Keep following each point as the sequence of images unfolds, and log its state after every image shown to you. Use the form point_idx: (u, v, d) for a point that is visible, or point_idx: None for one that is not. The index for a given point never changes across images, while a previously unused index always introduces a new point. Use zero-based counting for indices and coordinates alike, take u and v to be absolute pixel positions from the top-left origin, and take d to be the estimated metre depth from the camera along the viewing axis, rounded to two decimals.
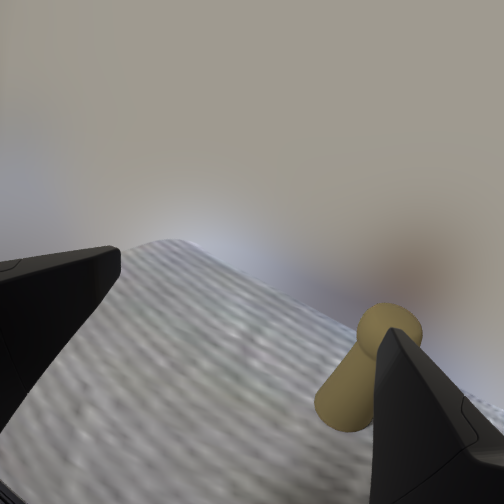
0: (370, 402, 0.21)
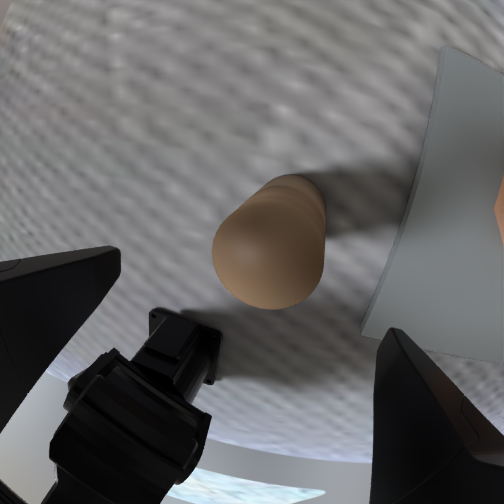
0: None
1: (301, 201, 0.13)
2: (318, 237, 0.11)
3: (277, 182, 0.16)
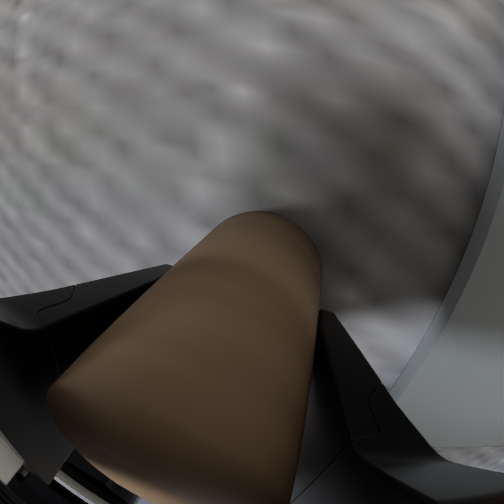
0: None
1: (248, 330, 0.05)
2: (275, 475, 0.03)
3: (218, 242, 0.08)
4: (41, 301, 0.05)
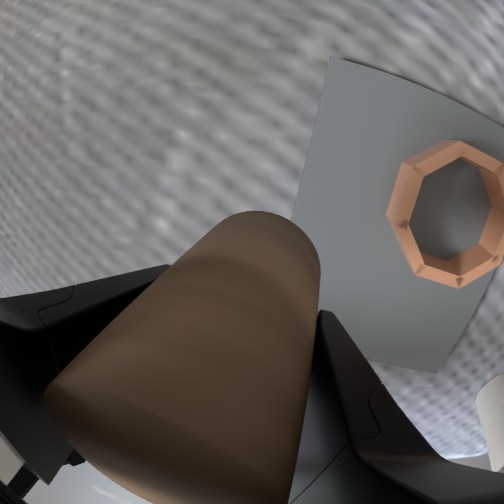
0: None
1: (246, 329, 0.05)
2: (273, 475, 0.03)
3: (217, 241, 0.08)
4: (41, 301, 0.05)
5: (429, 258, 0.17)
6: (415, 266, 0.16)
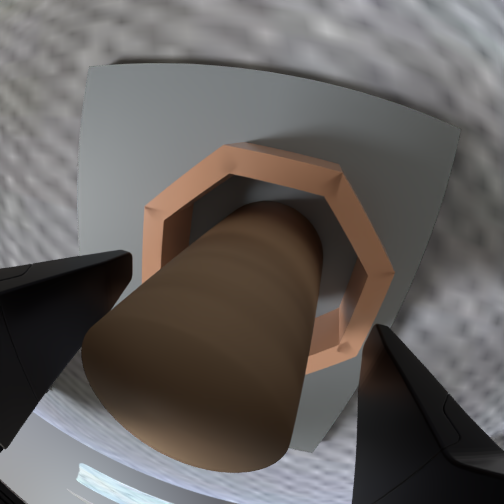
0: None
1: (258, 283, 0.06)
2: (279, 396, 0.04)
3: (232, 222, 0.09)
4: None
5: None
6: None
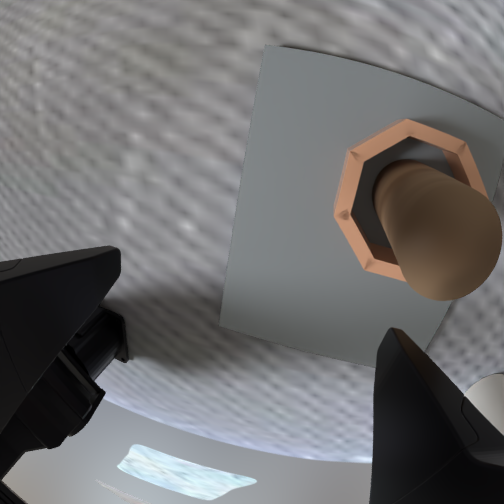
0: None
1: None
2: (499, 223, 0.08)
3: (416, 165, 0.13)
4: None
5: (385, 251, 0.17)
6: (363, 260, 0.16)
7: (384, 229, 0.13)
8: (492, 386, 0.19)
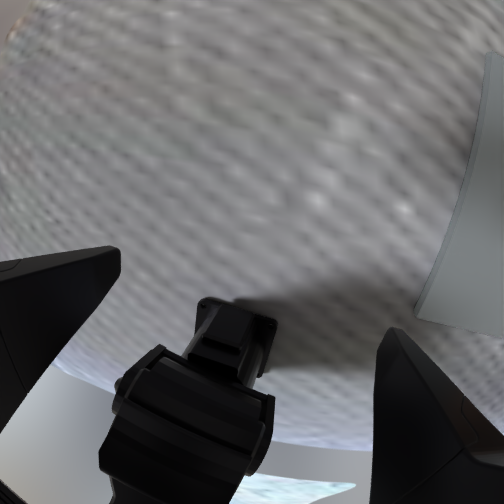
0: None
1: None
2: None
3: None
4: None
5: None
6: None
7: None
8: None
